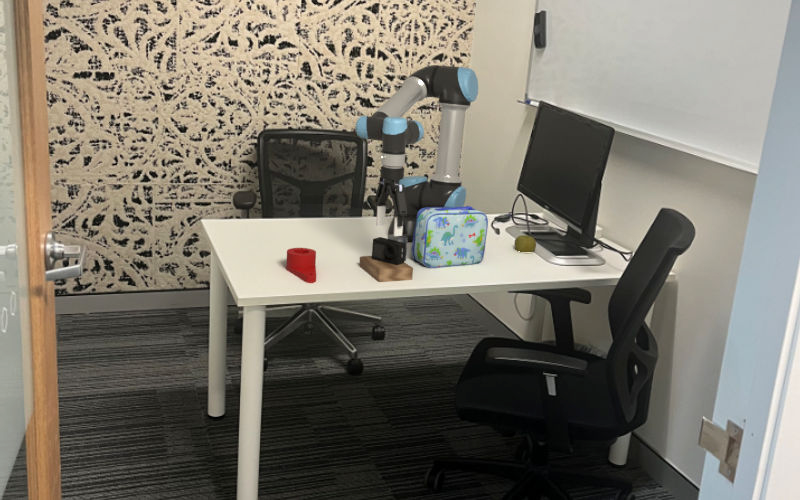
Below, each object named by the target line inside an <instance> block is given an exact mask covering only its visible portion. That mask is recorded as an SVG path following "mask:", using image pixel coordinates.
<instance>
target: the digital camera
mask: <svg viewBox="0 0 800 500" xmlns="http://www.w3.org/2000/svg"><path fill="white" fill-rule="evenodd" d="M405 247H406V243H404V242H400V241H395V240H391V239H388V237H387V238H386V237H381V236H378V237H375V238H373V239H372V249H371V256H372V259H374V260H378V261H382V262H386V263H390V264H394V265H399V264H402V263H404V262H405V261H404V260H405Z"/></svg>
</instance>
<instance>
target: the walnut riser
mask: <svg viewBox="0 0 800 500" xmlns="http://www.w3.org/2000/svg"><path fill="white" fill-rule="evenodd" d="M358 267H359V268H361V269H362V271H364V272H366V273H367V274H368V275H369V276H371V277H372V278H373V279H374V280H375V281H377V282H378V283H385V282H399V281H412V280H413V276H414V275H413V274H414V267H412V266H411V265H409V264H408V263H406V261H404V263H402V264H399V265H394V264H390V263H386V262H382V261H378V260H374V259H372V255H363V256H359V265H358Z"/></svg>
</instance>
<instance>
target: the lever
mask: <svg viewBox="0 0 800 500" xmlns="http://www.w3.org/2000/svg"><path fill="white" fill-rule="evenodd" d="M316 260H317V251H316V250H314V249H313V248H312V249H311V248H307V247H291V248H288V249H287V250H286V268H285V269H286V271H287V272H289V273H291V274H292V275H294V276H295V277H297V278H298V279H300V280H301V281H303V282H304V283H306V284H314V283H316V282H317V267H316V266H317V265H316Z"/></svg>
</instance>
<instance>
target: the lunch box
mask: <svg viewBox="0 0 800 500" xmlns="http://www.w3.org/2000/svg"><path fill="white" fill-rule="evenodd" d="M488 228H489V218H488V216H487V214H486V213H485V212H483V211H482V210H481V211H480V210H478V209H475V208H473V206H469V205H466V206H463V207H427V208H422V209H420V210H419V212H418V214H417V218H416V225H415V230H414V237H413V241H412V245H411V254H412V258H413V260H414V261H415V262H417V263H420V264H422V265H423V266H424V267H427V268H431V269H439V268H440V269H441V268H448V267H449V268H451V267H460V266H461V267H463V266H474V265H479V264H480V263H482V261H483V259H484V255H485V251H486V241H487V235H488Z"/></svg>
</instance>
